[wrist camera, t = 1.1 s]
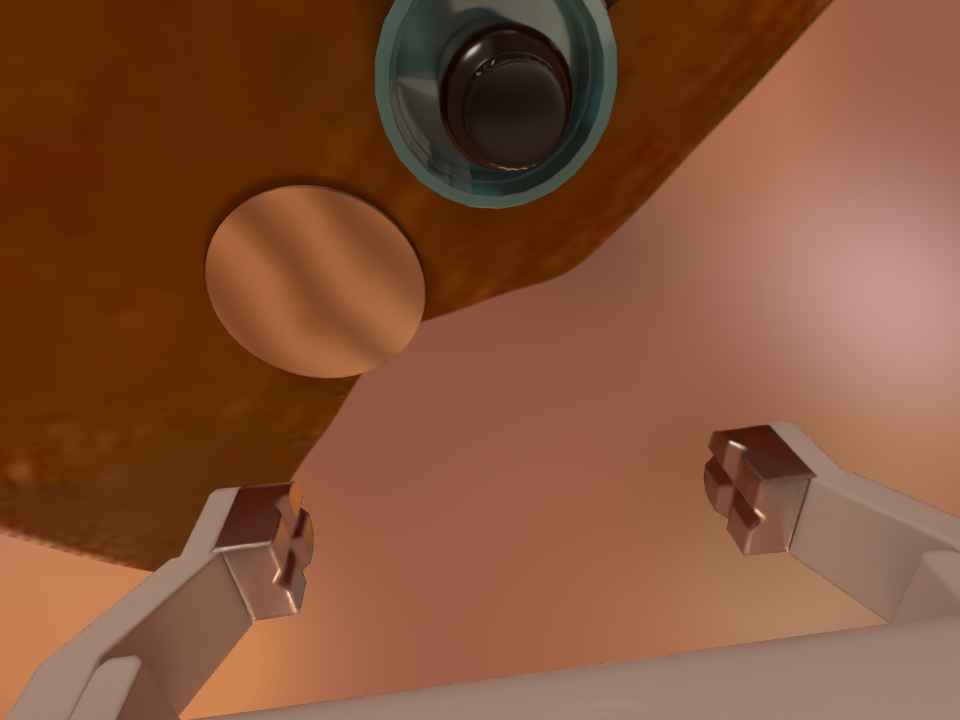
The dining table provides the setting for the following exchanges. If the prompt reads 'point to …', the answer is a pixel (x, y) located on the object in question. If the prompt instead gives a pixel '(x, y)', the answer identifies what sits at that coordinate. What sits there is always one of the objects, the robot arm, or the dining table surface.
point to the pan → (415, 106)
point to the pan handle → (608, 3)
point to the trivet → (315, 281)
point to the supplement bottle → (504, 93)
